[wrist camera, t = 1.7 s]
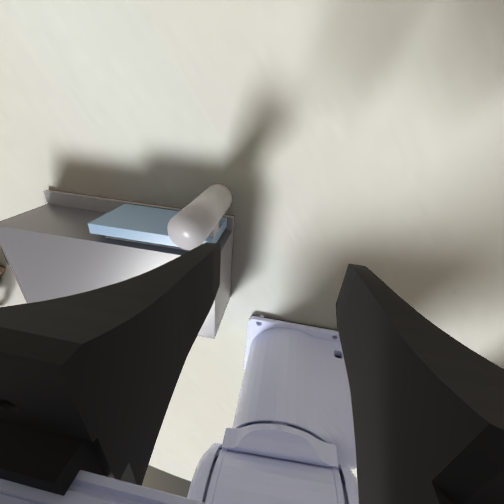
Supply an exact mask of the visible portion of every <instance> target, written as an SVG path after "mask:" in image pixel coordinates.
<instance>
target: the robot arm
mask: <svg viewBox="0 0 504 504" xmlns="http://www.w3.org/2000/svg"><path fill="white" fill-rule="evenodd" d="M220 264H221V244H216V243H210V242H206V243H203V244H201V245H199V246H198V247H196V248H194V249H192V250H190V251H188V252H187V253H185V254H183V255H181V256H179V257H177V258H175V259H173V260H171V261H169V262H167V263H165V264H163V265H161V266H159V267H157V268H155V269H153V270H150V271H148V272H146V273H143V274H141V275H138V276H135V277H133V278H130V279H127V280H124V281H121V282H118V283H115V284H111V285H108V286H105V287H101V288H98V289H94V290H91V291H87V292H83V293H79V294H74V295H70V296H65V297H60V298H56V299H51V300H45V301H40V302H33V303H27V304H21V305H14V306H8V307H1V308H0V504H504V369H502V368H500V367H499V366H497V365H495V364H494V363H492V362H490V361H489V360H487V359H485V358H484V357H482V356H481V355H479V354H477V353H476V352H474V351H472V350H471V349H469V348H468V347H466V346H464V345H463V344H461V343H460V342H458V341H457V340H455V339H454V338H452V337H451V336H450V335H448V334H447V333H445V332H444V331H442V330H441V329H440V328H438V327H437V326H435V325H434V324H433V323H431V322H430V321H429V320H427V319H426V318H425V317H423V316H422V315H421V314H420V313H418V312H417V311H416V310H415V309H413V308H412V307H411V306H410V305H409V304H407V303H406V302H405V301H404V300H403V299H402V298H400V297H399V296H398V295H397V294H396V293H395V292H394V291H392V290H391V289H390V288H389V287H388V286H387V285H386V284H385V283H384V282H383V281H381V280H380V279H379V278H378V277H377V276H376V275H375V274H374V273H373V272H371V271H370V270H369V269H368V268H367V267H365V266H360V265H353V264H349V265H348V268H347V271H346V274H345V277H344V281H343V284H342V287H341V290H340V293H339V296H338V299H337V302H336V315H337V327H338V331H334V330H329V329H323V328H317V327H312V326H306V325H301V324H295V323H290V322H284V321H279V320H273V319H268V318H262V317H257V316H251V317H250V318H249V321H248V331H247V340H246V350H245V360H244V371H245V372H244V376H243V381H242V386H241V390H240V395H239V400H238V404H237V409H236V414H235V418H234V423H233V427H232V428H226V431H225V435H224V439H223V444H218V443H214V444H213V445H212V446H211V447H210V448H209V450H208V451H207V452H206V453H204V455H203V456H202V457H201V459H200V461H199V463H198V465H197V468H196V470H195V473H194V476H193V479H192V482H191V485H190V489H189V492H188V496H187V498H186V497H182V496H178V495H174V494H170V493H166V492H163V491H159V490H155V489H151V488H148V487H143V486H141V485H142V482H143V479H144V476H145V473H146V470H147V467H148V464H149V461H150V458H151V455H152V452H153V449H154V445H155V442H156V439H157V437H158V434H159V431H160V428H161V425H162V422H163V419H164V416H165V414H166V411H167V408H168V405H169V402H170V400H171V397H172V394H173V391H174V389H175V386H176V383H177V381H178V378H179V375H180V373H181V370H182V368H183V365H184V363H185V360H186V358H187V355H188V353H189V351H190V349H191V347H192V345H193V343H194V341H195V339H196V337H197V335H198V333H199V331H200V329H201V327H202V325H203V323H204V321H205V319H206V317H207V315H208V313H209V311H210V309H211V307H212V305H213V303H214V300H215V298H216V295H217V292H218V289H219V286H220ZM259 322H261V323H259ZM334 335H336V336H334ZM356 467H357V478H356V477H355V476H354V474H353V473H352V471H351V469H355V468H356ZM357 479H358V480H357Z"/></svg>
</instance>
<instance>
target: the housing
mask: <svg viewBox="0 0 504 504" xmlns="http://www.w3.org/2000/svg"><path fill="white" fill-rule="evenodd" d="M44 193H45V196H46V199H47V202H48V204H46V205H43V206H41V207H38V208H35V209H33V210H30V211H27V212H24V213H22V214H19V215H16V216H14V217H11V218H8V219H5V220H3V221H0V245H1V247H2V249H3V252H4V256H5V259H6V261H7V263H8V264H9V265H10V267H11V269H12V271H13V273H14V276H15V278H16V280H17V282H18V284H19V287H20V289H21V291H22V293H23V295H24V298H25V300H26V302H27V303H33V302H40V301H45V300H51V299H56V298H60V297H65V296H70V295H74V294H79V293H83V292H87V291H91V290H94V289H98V288H101V287H105V286H108V285H111V284H115V283H118V282H121V281H124V280H127V279H130V278H133V277H135V276H138V275H141V274H143V273H146V272H148V271H150V270H153V269H155V268H157V267H159V266H161V265H163V264H165V263H167V262H169V261H171V260H173V259H175V258H177V257H179V256H181V255H183V254H185V253H187V252H188V251H190V250H185V249H182V248H180V247H174V246H168V245H162V244H155V243H149V242H143V241H136V240H130V239H124V238H117V237H111V236H105V235H98V234H92V233H90V231H89V227H88V223H89V222H91V221H93V220H95V219H97V218H99V217H101V216H103V215H104V214H106V213H108V212H110V211H112V210H114V209H116V208H118V207H120V206H121V205H123V204H132V205H139V206H146V207H153V208H160V209H167V210H174V211H181V210H182V209H181V208H174V207H167V206H159V205H152V204H145V203H138V202H131V201H124V200H117V199H110V198H103V197H96V196H89V195H82V194H75V193H67V192H60V191H53V190H46V191H44ZM223 218H227V227H226V228H225V230H224V231H223V233H222V235H221V236H220V238H219V239H218V241H217V242H216V244H221V264H220V286H219V289H218V292H217V295H216V298H215V300H214V303H213V305H212V307H211V309H210V311H209V313H208V315H207V317H206V319H205V321H204V323H203V325H202V327H201V329H200V331H199V333H198V335H197V336H202V337H207V338H212V339H215V336H216V333H217V331H218V328H219V325H220V323H221V320H222V317H223V315H224V312H225V309H226V307H227V304H228V302H229V299H230V288H231V269H232V250H233V230H234V216H230V215H223Z"/></svg>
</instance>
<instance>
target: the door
mask: <svg viewBox="0 0 504 504" xmlns="http://www.w3.org/2000/svg"><path fill="white" fill-rule="evenodd" d="M231 203H232V195H231V193H230V191H229V190H228V189H227V188H226V187H225V186H223V185H220V184H214V185H211V186H210V187H208V188H207V189H206V190H205V191H204V192H202V193H201V194H200V195H199V196H198V197H196V198H195V199H194V200H193V201H192V202H190V203H189V204H188V205H187V206H186V207H184V208H183V209H182V210H181V211H174V210H167V209H160V208H153V207H146V206H139V205H132V204H123V205H121V206H120V207H118V208H116V209H114V210H112V211H110V212H108V213H106V214H104V215H103V216H101V217H99V218H97V219H95V220H93V221H91V222H89V223H88V227H89V231H90V233H92V234H98V235H105V236H111V237H117V238H124V239H130V240H136V241H143V242H149V243H155V244H162V245H168V246H174V247H180V248H182V249H185V250H192V249H194V248H196V247H198V246H199V245H201V244H203V243H206V242H210V243H216V242H217V241H218V239H219V238H220V236H221V235H222V233H223V231H224V230H225V228H226V227H227V218H223V215H224V214H225V213H226V211H227V210H228V209H229V207H230V206H231Z"/></svg>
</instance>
